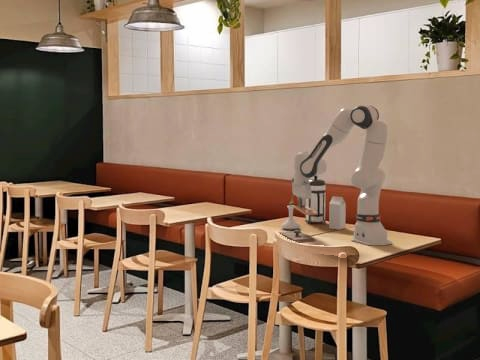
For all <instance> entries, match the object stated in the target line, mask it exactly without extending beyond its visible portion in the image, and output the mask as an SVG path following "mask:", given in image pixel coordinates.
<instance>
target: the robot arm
mask: <svg viewBox="0 0 480 360" xmlns="http://www.w3.org/2000/svg"><path fill="white" fill-rule="evenodd" d="M379 118H380V113H379V110H378V109H377V108H376V107H375V106H373V105H368V104H363V105H357V106H355V107H354V108H352V109H350V108H348V107H344V108H341V110H340V111H338V112H337V114H336V115H335V116H334V118H333V119H332V121H331V122H330V124H329V126H328V128H327V129H326V131H325V133H324V134H323V136H322V137H321V138H320V140H319V141H318V142H317V144H316V145H315V146H314V148H313V150H311V152H309V151H301V152H298V153H296V154H295V156H294V163H293V165H294V166H293V167H294V174H293V177H292V178H291V183H292V185H291V186H292V187H291V190H292V191H291V192H292V196H296V197H297V200H298V199H302V202H301V205H305V206H306V199H311V196H312V194H311V186H310V179H312V177H313V178H314V176H317V177H318V176H321V175H323V174H324V173H325V172H326V171H327V163H326V161H325V159H323V157H324V156H325V154H326V153H327V152H328V150H330V149H331V148H333V147H334V146H337V145H339V144H341V143H342V142H343V141H345V139H346V138H347V137H348V136H349V134H350V132H351V130H352V128H354V126H357V127H359V128H361V129H362V130H365V137H364V143H363V148H362V152H361V157H360V159H359V161H358V164H357V165H356V168H355V170H354V171H353V172H352V174H351V178H350V181H351V183H352V185H353V186H354V187H355V188H357V189H360V193H359V195H358V197H357V205H356V207H357V213H356V216H355V217H356V222H355V224H354V225H353V226H354V229H353V237H352V238H351V242H356V243H359V244H363V245H367V246H386V245H393V242H392V241H391V240H390V239H388V230H387V229H385V227H384V226H383V224H382V223H381V216H380V213H379V211H380V210H379V205H380V203H379V202H380V195H381V191H382V186H383V184H384V181H385V180H386V174H385V171H384V170H383V169H382V168H380V167H379V166H380V164H381V162H382V161H383V160H384V156H385V151H386V147H387V146H386V145H387V141H388V140H387V139H388V125H387V124H386V123H385V121H381V120H379Z"/></svg>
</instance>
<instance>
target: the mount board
mask: <svg viewBox="0 0 480 360" xmlns="http://www.w3.org/2000/svg"><path fill="white" fill-rule="evenodd" d="M279 233H280V234H282V235H283V236H285V237H287V238H288V239H290V240H293V241H301V242H300V243H306V242H310V243H311V242H316V238H315V237H314V236H311V235H309V234H306V233H304V232H302V231H301V230H300V229H293V231H280V232H278V234H279ZM288 239H287V240H288ZM290 240H289V241H290Z"/></svg>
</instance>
